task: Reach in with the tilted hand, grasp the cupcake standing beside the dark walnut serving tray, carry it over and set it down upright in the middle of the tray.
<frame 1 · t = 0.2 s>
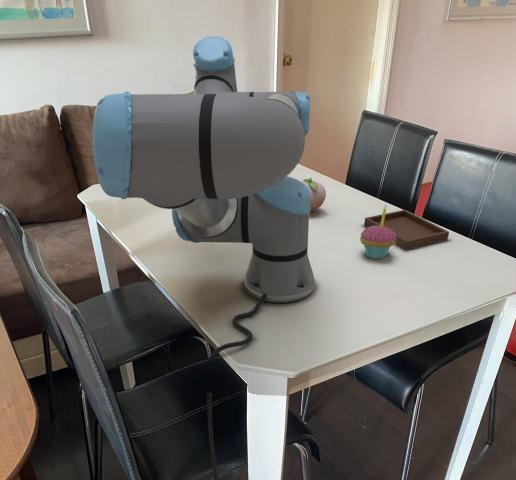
hand: (232, 175, 126), 15 cm above the table, tool tilted 35°, fingers open, 13 cm apart
tray: (404, 232, 134), on the table
cupcake: (376, 255, 123), on the table
decorative fruit: (310, 212, 147), on the table
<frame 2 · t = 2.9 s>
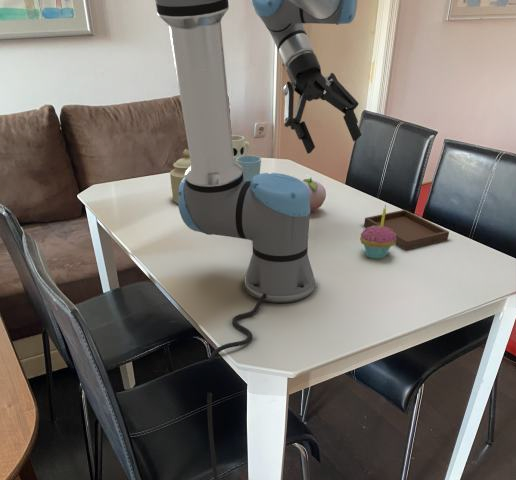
hand: (334, 144, 119), 23 cm above the table, tool tilted 40°, fingers open, 13 cm apart
nothing on the table moved.
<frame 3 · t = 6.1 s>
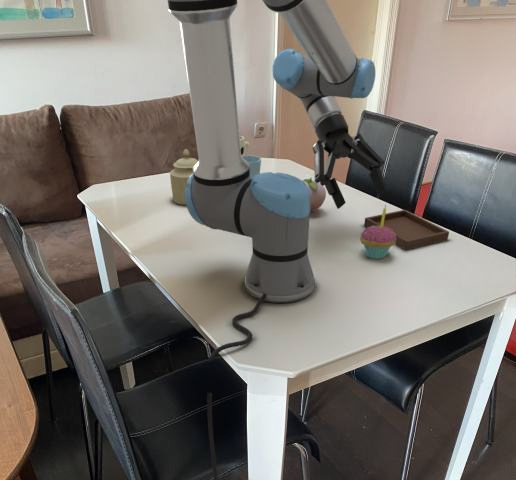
hand: (363, 200, 121), 12 cm above the table, tool tilted 45°, fingers open, 13 cm apart
nothing on the table moved.
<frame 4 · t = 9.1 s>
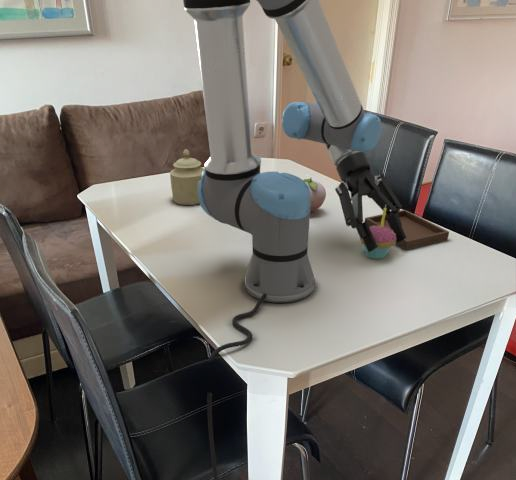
hand: (387, 244, 119), 4 cm above the table, tool tilted 45°, fingers closed on cupcake, 8 cm apart
cupcake: (376, 255, 123), on the table, touching gripper
everything else where it was.
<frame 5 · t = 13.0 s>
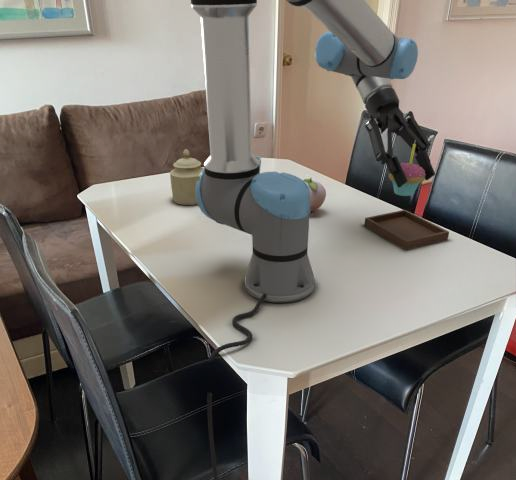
hand: (416, 180, 119), 16 cm above the table, tool tilted 45°, fingers closed on cupcake, 8 cm apart
cupcake: (404, 193, 124), point 12 cm above the table, touching gripper
everything else where it was.
when the fingers open (5 cm above the table, at t = 17.1 s): cupcake stays where it is, resting on tray.
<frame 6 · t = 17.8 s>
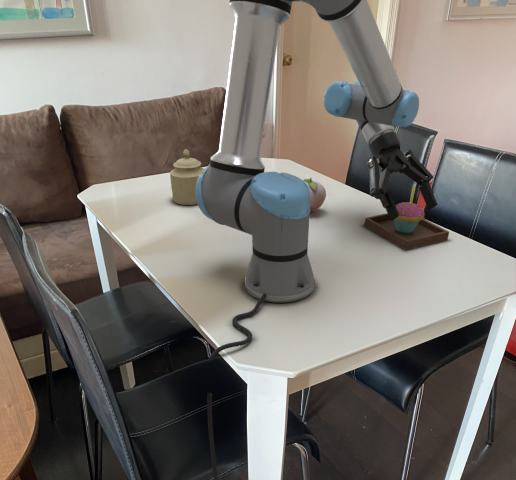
hand: (414, 212, 129), 6 cm above the table, tool tilted 45°, fingers open, 13 cm apart
cupcake: (404, 230, 134), point 1 cm above the table, touching tray
everything else where it was.
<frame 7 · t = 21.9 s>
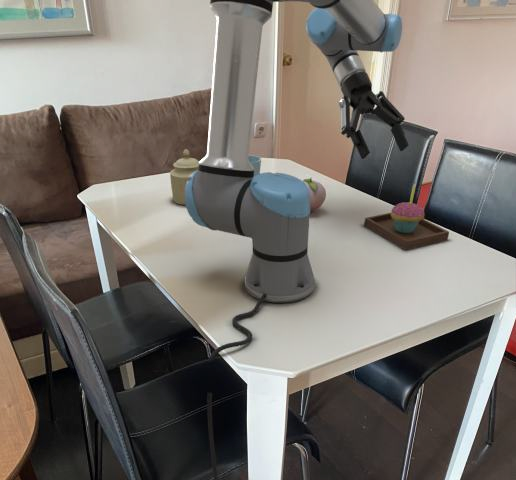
hand: (385, 152, 130), 18 cm above the table, tool tilted 45°, fingers open, 13 cm apart
nothing on the table moved.
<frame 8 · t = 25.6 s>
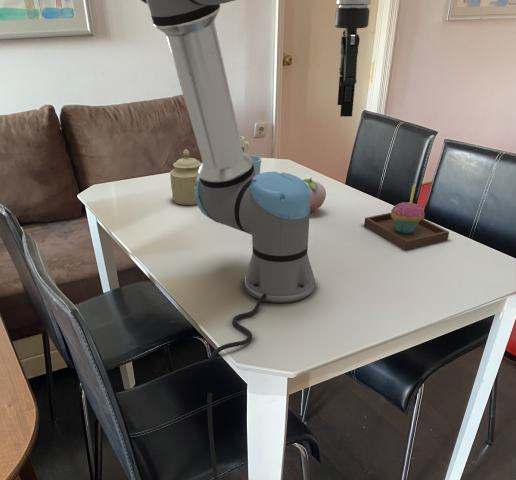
hand: (344, 110, 124), 29 cm above the table, tool pointing down, fingers open, 13 cm apart
nothing on the table moved.
at the end: cupcake inside the target area in the tray (0.1 cm from its centre), point 0.6 cm above the tray's base; cupcake tilted 0°; the gripper is holding nothing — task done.
